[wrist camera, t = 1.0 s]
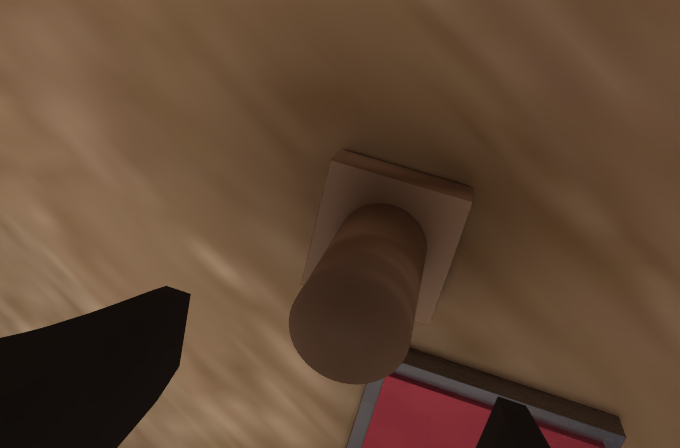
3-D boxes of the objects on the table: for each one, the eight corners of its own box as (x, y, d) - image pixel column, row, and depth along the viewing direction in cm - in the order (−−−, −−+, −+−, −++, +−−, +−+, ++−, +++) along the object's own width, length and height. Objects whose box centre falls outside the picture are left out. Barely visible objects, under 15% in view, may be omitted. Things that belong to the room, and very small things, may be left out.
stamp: (472, 184, 21) (474, 277, 13) (432, 298, 23) (414, 437, 15) (343, 146, 22) (275, 215, 14) (315, 261, 23) (241, 377, 16)
